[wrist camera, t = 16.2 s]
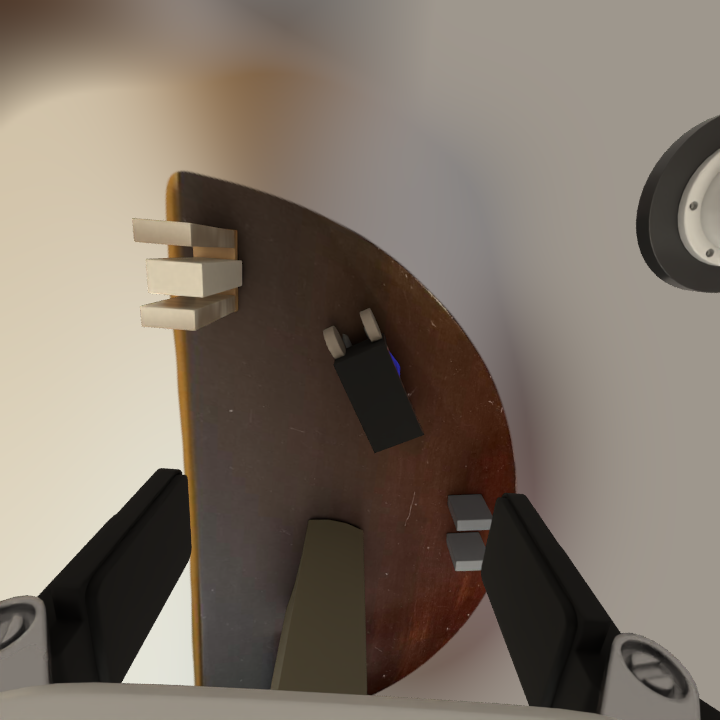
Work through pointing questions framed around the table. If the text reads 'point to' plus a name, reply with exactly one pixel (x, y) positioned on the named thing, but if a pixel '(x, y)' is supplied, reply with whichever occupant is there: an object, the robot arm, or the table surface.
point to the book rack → (205, 244)
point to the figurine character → (374, 385)
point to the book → (325, 615)
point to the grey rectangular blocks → (468, 516)
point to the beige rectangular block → (192, 276)
